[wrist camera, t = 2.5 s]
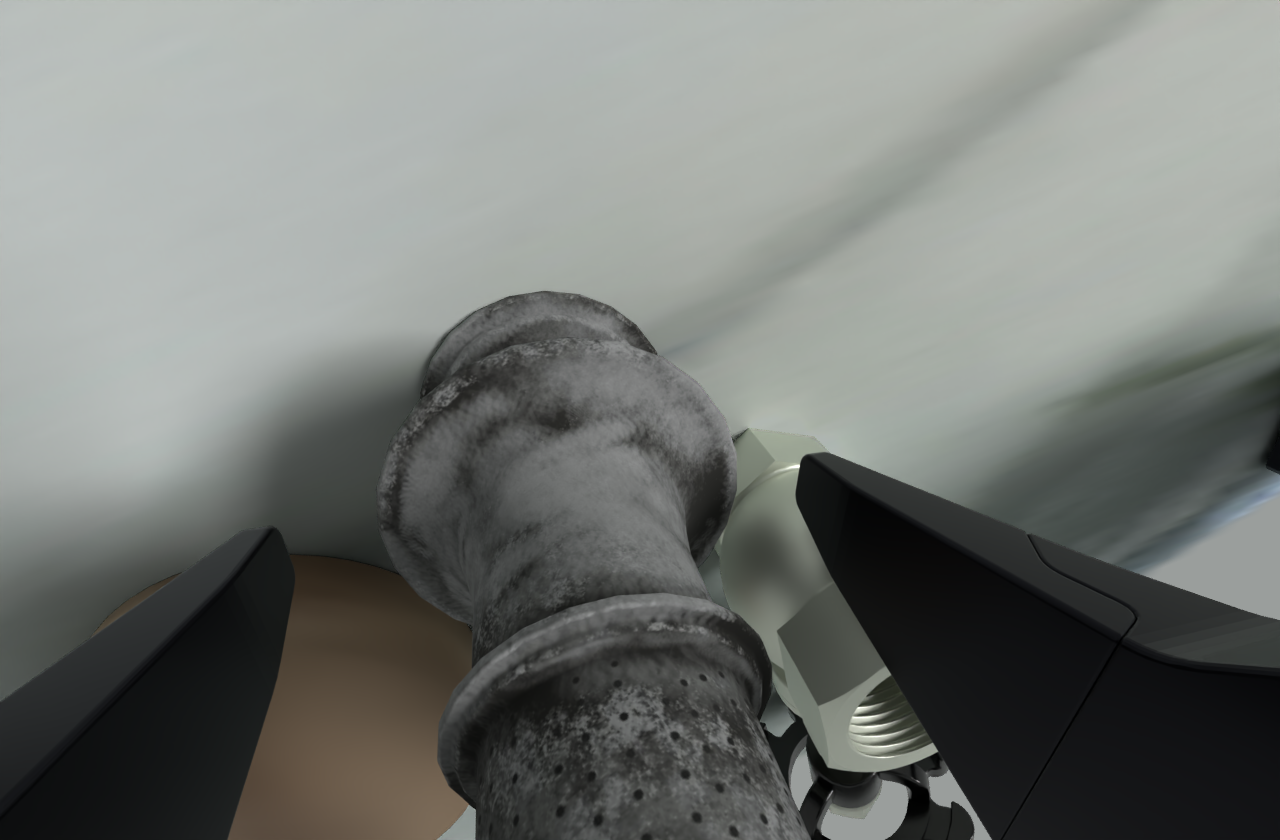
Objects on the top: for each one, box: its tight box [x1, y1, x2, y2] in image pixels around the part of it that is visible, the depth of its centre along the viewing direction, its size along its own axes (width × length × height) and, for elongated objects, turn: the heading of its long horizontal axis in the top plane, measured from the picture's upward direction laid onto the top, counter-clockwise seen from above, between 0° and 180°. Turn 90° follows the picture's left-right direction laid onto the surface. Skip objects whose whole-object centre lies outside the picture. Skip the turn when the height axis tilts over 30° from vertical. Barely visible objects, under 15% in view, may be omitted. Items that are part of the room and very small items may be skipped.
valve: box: [714, 428, 974, 840], centre depth 14 cm, size 7×7×12 cm
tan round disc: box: [90, 555, 473, 840], centre depth 13 cm, size 9×9×2 cm
